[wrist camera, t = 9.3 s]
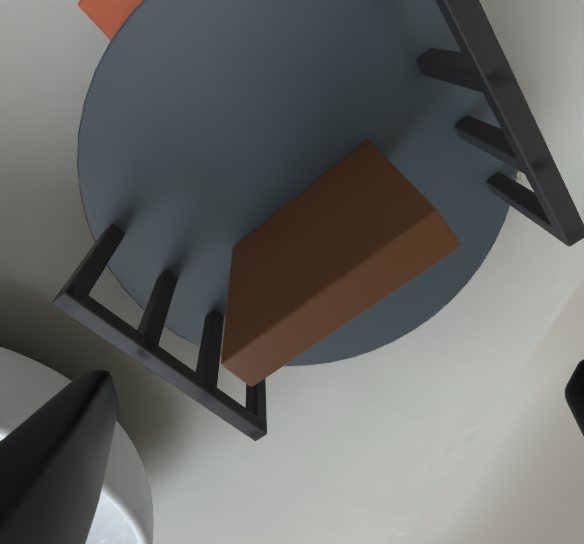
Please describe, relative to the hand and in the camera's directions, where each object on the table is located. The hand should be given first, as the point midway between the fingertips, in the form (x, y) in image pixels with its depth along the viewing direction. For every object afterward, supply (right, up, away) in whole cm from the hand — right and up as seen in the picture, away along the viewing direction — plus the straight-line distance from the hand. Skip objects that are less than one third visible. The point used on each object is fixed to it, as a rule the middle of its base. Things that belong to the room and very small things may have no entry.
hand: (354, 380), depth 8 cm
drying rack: (-1, +5, +8) cm, 10 cm away
